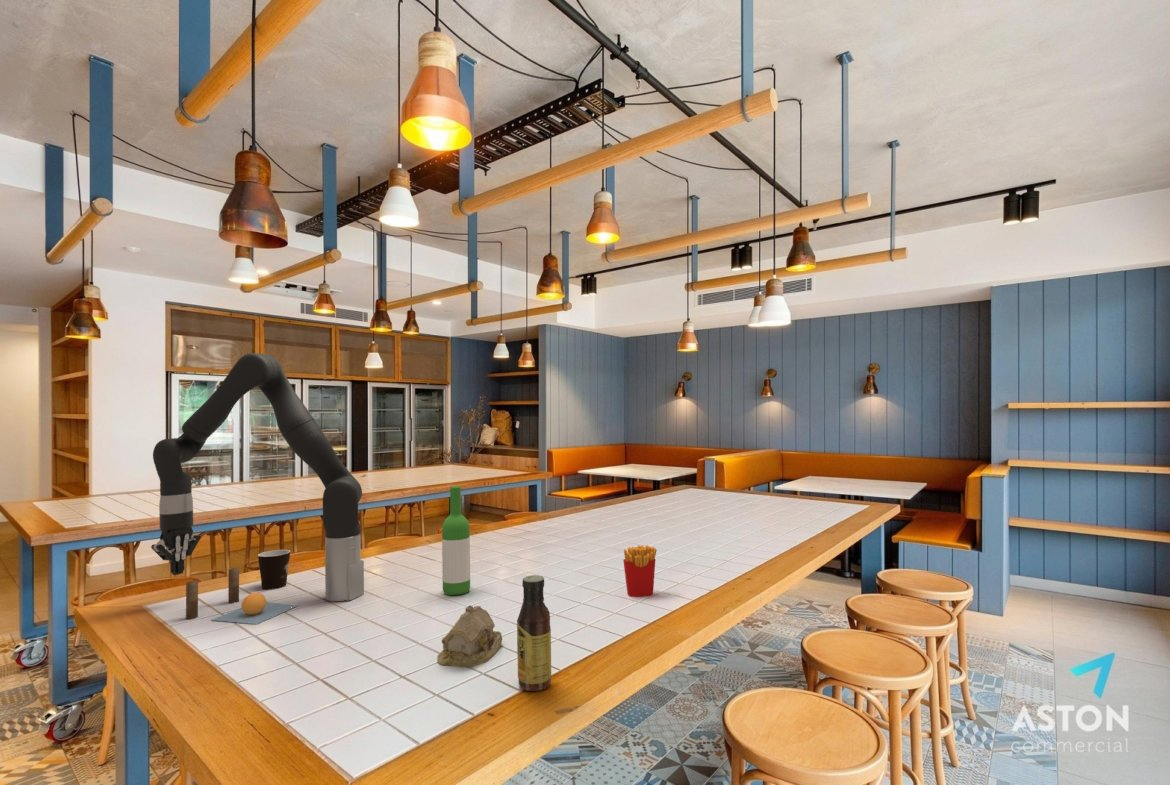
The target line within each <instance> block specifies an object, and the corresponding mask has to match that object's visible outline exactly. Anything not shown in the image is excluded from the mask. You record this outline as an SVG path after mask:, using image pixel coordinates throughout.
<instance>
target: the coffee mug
mask: <svg viewBox="0 0 1170 785" xmlns="http://www.w3.org/2000/svg"><path fill="white" fill-rule="evenodd" d="M290 557H291V550H290V549H275V550H268V551H264V552H263V551H262V552H261V553H258V554H257V559H258V566H259V574H260V580H261V588H262V590H267V591H268V590H278V589H281V588H283V587H287V580H288V572H289V564H290V559H291V558H290Z"/></svg>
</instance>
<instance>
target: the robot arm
mask: <svg viewBox="0 0 1170 785" xmlns="http://www.w3.org/2000/svg"><path fill="white" fill-rule="evenodd" d="M255 387H258V388H259V390H260V391H261V392H262V393H263V395H264V396H265V397H266V398H267V400H268V401H269V403H270V404H271V406H272V409H273V412H274V416H275V421H276V424H277V427H278V430H279V432H280V434H281V435H282V437H283V439H284V440H285V441H286V443H287V445H288V447H290V448H291V450H292V451H293V452H294V453H295V454H296V456H298V458H300V460H301V461H303V462H304V463H305V464H306V465H307V466H308V467H309V468H311V469H312V470H313V472H314V473H316V475H317V477H318V478H319V479H320V481H321V483H322V484H323V486H324V488H325V489H324V491H323V494H322V521H323V522H322V523H323V524H322V525H323V528H324V533H325V534H324V536H325V538H324V539H325V540H324V541H325V542H324V544H325V547H324V548H325V549H324V550H325V551H324V552H325V553H324V554H325V555H324V557H325V558H324V559H325V560H324V563H325V564H324V565H325V568H324V569H325V572H324V573H325V575H324V576H325V579H324V580H325V581H324V582H325V583H324V584H325V585H324V586H325V587H324V588H325V600H326V601H328V602H344V600H346V601H349V600H350V601H352V600H355V599H356V598H359V597H360V596H362V595H364V594H365V561H364V560H363V559H362V558H361V554H362V553H361V549H362V548H361V546H362V544H361V531H362V530H361V523H360V519H359V503H360V501H361V500H362V496H363V488H362V486H361V484H360V482H359V481H358V480H357V479H356V478H355V476H354V475H353V474H352V473H351V472H350V471H349V470H348V468H347V466H345V465H344V463H343V462H342V461H341V460H340V458H339V457H338V455H337V453H336V452H335V450H334V448H333V446H332V445H331V443H330V442H329V440H328V438H327V437H326V435H325V433H324V432H323V430H322V429H321V426H320V425H319V424H318V422H317V421H316V419H315V418H314V417H313V415H312V414H311V413H310V411H309V410H308V408H307V406H305V404H304V402H303V401H302V400H301V398H300V397H299V395H298V394H297V393H296V391H295V389H294V388H293V387H292V385H291V383H290V381H289V379H288V377H287V376H286V373H285V371H284V369H283V367H282V366H281V363H280V362H279V361H278V360H277V359H276V358H275V357H273V356H272V355H269V354H268V353H267V354H265V353H259V352H258V353H257V352H256V353H255V352H250V353H247V354H244V355H242V356H241V357H240V358H239V359H238V360H237V362H236V363H235V364H234V365H233V367H232V368H231V369H230V371H228V374H227V375H226V377H225V378H224V379H223V380H222V382H221V383H220V384H219V385H218V387H217V388H216V390H215V391H214V392H212V394H211V395H210V396H209V398H207V400H206V401H205V402H203V404H202V405H201V406H200V407H199V408H198V409H196V411H194V412H193V413H192V414H191V415H190V417H188V418H187V419H186V421H185V422H184V423H183V424H182V426H181V431H182V434H180V436H178V437H176V438H175V437H174V438H164V439H160V440H159V441H158V442H157V443H156V444H155V446H154V449H153V452H152V459H153V464H154V467H155V470H156V473H157V476H158V479H159V481H160V482H159V489H160V490H159V493H160V497H159V506H158V507H159V508H158V509H159V510H158V511H159V517H158V518H159V530H160V531H161V532H160V535H159V541H158V542H157V543H155V544H152V545H151V546H150V548H151V550H152V551H154V552H155V554H156V555H158V556H159V557H160V559H161V560H162V561H169V563H170V565H169V566H170V567H169V568H170V573H171V575H173V576H178V575H181V574H183V573H184V571H185V559H186V558H187V557H189V556H191V555H192V554H193V552H194V550H195V549H196V547H197V545H198V544H199V542H200V540H201V538H202V536H201V535H199V534H195V532H194V530H193V526H194V500H193V493H192V490H193V489H192V475H191V474H190V473H189V472H185V471H184V470H183V467H182V463H183V464H184V463H187V462H189V461H191V460H192V459H194V458H195V457H196V456H197V455H198V454H199V452H200V451H201V450H202V449H203V447H204V445H205V443H206V441H207V440H208V438H209V437H211V436H212V435H213V433H215V432H216V431H217V430H218V429H219V428H220V427H221V426H222V424H224V423H225V421H226V420H227V419H228V417H229V415H230V413H231V412H232V410H233V409H234V407H235V405H236V404H237V402H239V401H240V400H241V398H242V397H244V395H246V394H247V393H248V392H250V391H251V390H253V389H254V388H255Z"/></svg>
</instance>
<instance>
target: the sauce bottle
mask: <svg viewBox="0 0 1170 785" xmlns="http://www.w3.org/2000/svg"><path fill="white" fill-rule="evenodd" d="M544 577H545V576H543V575H539V574H538V575H537V574H532V575H526V576H524V577H523V578H522V583H521V584H522V588H523V589H522V590H523V592H522V593H523V599H522V604H521V608H520V611H519V615H518V617H517V621H516V636H517V637H516V640H517V641H516V646H517V648H516V649H517V651H516V652H517V679H518V680H517V681H518V686H519V687H520V688H521V689H522V690H523V691H526V692H537V691H539V692H540V691H544V690H546V689H547V688H548V687H549V686H550V685H551V681H552V634H551V633H552V632H551V631H552V629H551V614H550V611H549V609H548V606H546V603H545V602H544V601H545V598H544V587H545V578H544Z"/></svg>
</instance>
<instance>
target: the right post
mask: <svg viewBox="0 0 1170 785" xmlns="http://www.w3.org/2000/svg"><path fill="white" fill-rule="evenodd" d="M227 575H228V594H227V596H228V597H227V598H228V599H227V601H228V602H229V603H228V602H227V603H228V604H235V603H234V602H236V603H238V602H239V601H240V568H239V567H233V568H232V567H231V568H229V569H228V574H227Z"/></svg>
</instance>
